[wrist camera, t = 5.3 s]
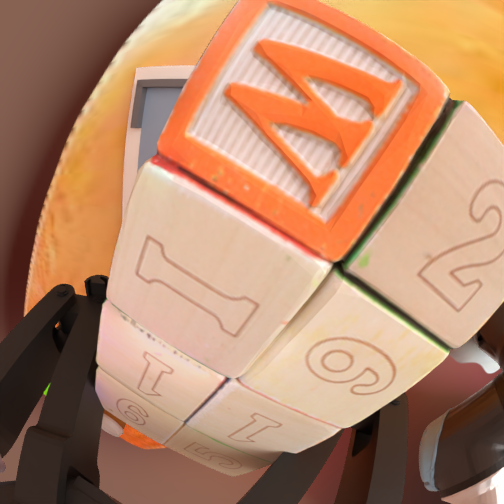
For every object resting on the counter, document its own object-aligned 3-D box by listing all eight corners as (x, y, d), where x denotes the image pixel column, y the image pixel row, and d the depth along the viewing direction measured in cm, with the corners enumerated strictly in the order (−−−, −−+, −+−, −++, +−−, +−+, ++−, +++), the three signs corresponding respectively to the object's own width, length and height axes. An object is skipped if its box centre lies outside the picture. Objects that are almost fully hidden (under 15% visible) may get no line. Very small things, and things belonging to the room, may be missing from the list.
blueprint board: (239, 69, 26) (234, 65, 24) (205, 291, 39) (200, 298, 37) (139, 68, 28) (131, 66, 26) (126, 264, 41) (119, 270, 39)
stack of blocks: (225, 371, 23) (172, 490, 12) (165, 334, 23) (89, 442, 12) (397, 158, 13) (563, 231, 2) (304, 93, 13) (252, -36, 2)
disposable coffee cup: (106, 382, 61) (84, 411, 51) (130, 388, 58) (107, 421, 48) (122, 403, 65) (103, 431, 54) (146, 410, 62) (127, 441, 51)
